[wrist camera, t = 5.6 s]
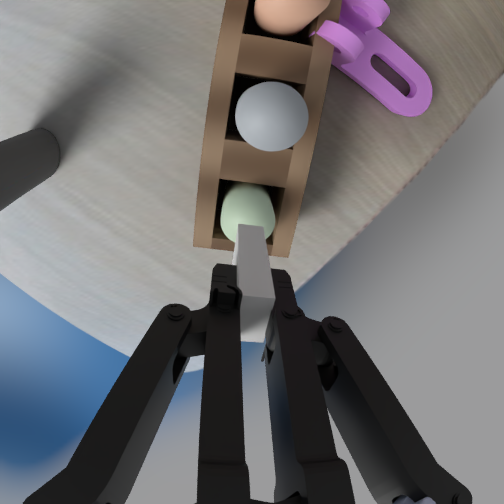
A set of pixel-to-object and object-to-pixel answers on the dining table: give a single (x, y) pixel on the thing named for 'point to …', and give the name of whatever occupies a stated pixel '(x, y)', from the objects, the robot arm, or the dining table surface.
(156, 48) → the dining table surface
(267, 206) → the green rounded cylinder
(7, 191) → the bottle
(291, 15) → the brown egg
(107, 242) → the dining table surface
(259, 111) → the grey rounded cylinder
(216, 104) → the walnut rack
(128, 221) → the dining table surface
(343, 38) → the bracket
